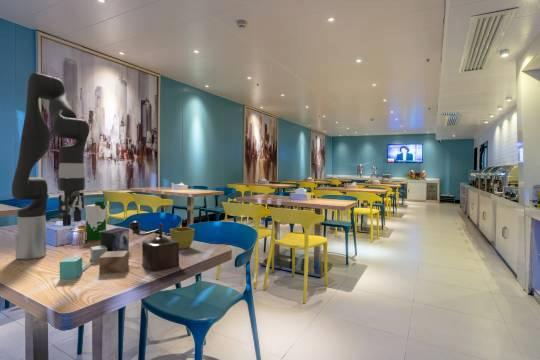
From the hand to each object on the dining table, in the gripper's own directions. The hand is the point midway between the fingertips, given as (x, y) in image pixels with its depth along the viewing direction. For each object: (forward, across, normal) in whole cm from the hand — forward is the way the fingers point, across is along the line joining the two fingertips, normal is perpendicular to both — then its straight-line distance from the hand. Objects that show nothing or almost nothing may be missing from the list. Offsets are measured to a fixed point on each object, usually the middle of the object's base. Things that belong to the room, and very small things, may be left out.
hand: (72, 223), depth 104 cm
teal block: (+18, 0, 0) cm, 18 cm away
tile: (+18, -9, -2) cm, 20 cm away
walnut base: (+18, -5, +12) cm, 23 cm away
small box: (+18, -28, +6) cm, 34 cm away
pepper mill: (+19, -6, +26) cm, 32 cm away
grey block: (+16, -17, +3) cm, 23 cm away
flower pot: (+18, -33, +34) cm, 51 cm away
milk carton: (+18, -59, -12) cm, 63 cm away
